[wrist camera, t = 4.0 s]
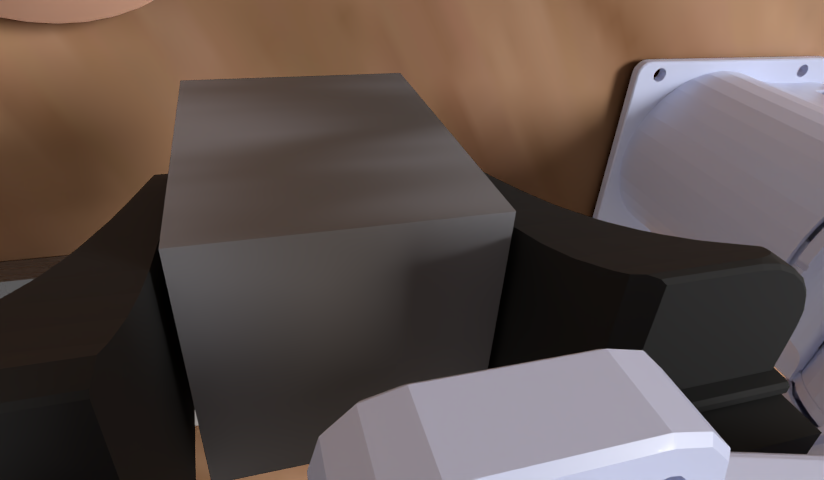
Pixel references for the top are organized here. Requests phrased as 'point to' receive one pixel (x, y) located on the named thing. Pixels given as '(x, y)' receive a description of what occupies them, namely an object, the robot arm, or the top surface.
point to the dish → (66, 9)
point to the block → (321, 256)
